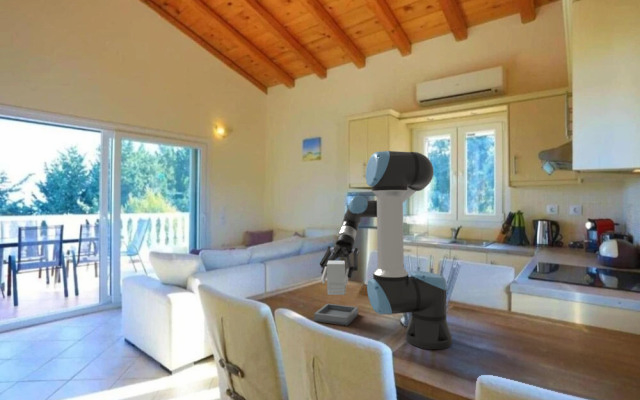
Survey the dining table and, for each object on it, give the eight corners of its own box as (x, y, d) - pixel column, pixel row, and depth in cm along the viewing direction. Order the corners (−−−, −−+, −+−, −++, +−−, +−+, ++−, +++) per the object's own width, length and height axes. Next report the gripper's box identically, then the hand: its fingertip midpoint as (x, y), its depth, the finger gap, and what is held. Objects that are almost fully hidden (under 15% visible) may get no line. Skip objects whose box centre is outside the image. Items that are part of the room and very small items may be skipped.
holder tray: (358, 314, 145) (358, 307, 145) (347, 325, 132) (347, 318, 132) (327, 310, 150) (327, 303, 150) (314, 320, 138) (314, 313, 138)
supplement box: (345, 290, 145) (345, 260, 145) (345, 295, 137) (345, 263, 137) (328, 289, 146) (328, 260, 145) (326, 294, 138) (326, 263, 138)
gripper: (371, 245, 151) (361, 290, 137) (326, 242, 160) (311, 285, 145) (368, 234, 146) (357, 280, 132) (321, 232, 155) (306, 275, 140)
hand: (333, 282), depth 138 cm, fingers closed on supplement box, 9 cm apart
